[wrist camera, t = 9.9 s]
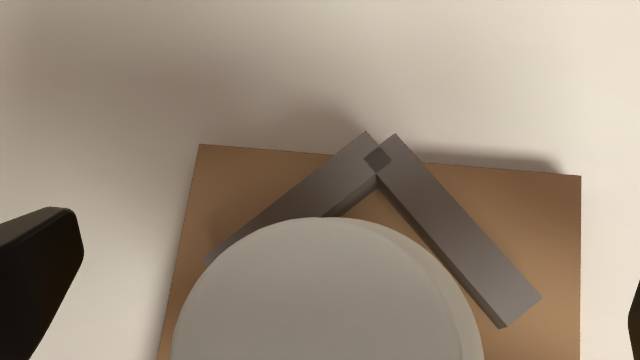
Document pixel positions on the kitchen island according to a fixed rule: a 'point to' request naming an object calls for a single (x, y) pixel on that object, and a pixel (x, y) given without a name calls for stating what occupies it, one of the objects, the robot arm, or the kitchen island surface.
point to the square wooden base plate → (408, 229)
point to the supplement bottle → (326, 299)
